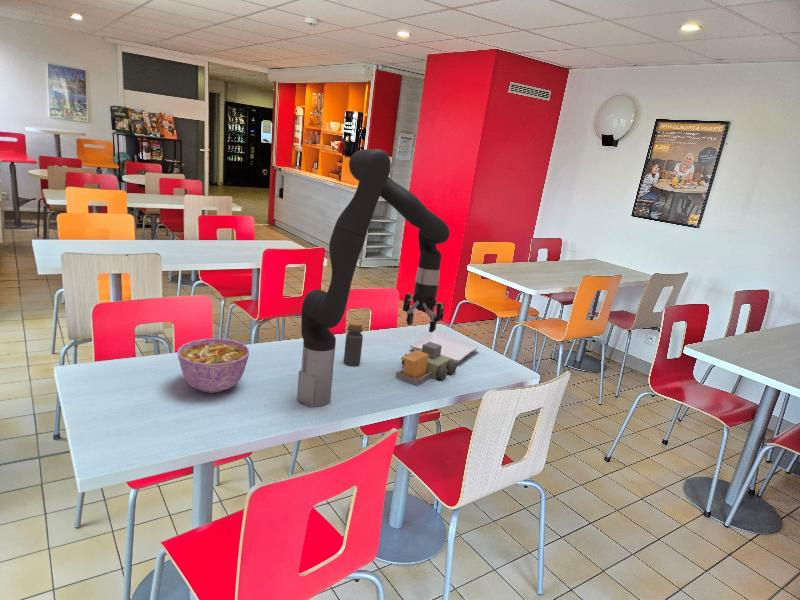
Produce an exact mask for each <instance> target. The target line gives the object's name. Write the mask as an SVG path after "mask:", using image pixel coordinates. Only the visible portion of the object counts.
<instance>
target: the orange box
mask: <svg viewBox="0 0 800 600" xmlns="http://www.w3.org/2000/svg"><path fill="white" fill-rule="evenodd" d="M406 354H407V355H405V354H404V355H405V356H404V355H403V356H401V357H400V359H401V361H402V360H405V362H404V366H403V369H404V370H403V374H405V375H408V376H410V377H413V378H416V379H418V378H420V377H421V376H423V375H425V374H426V369H427V362H428V355H429V354H426V353H423V352H420V351H418V350H413V351H411V352H409V353H406Z"/></svg>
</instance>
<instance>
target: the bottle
mask: <svg viewBox="0 0 800 600" xmlns="http://www.w3.org/2000/svg"><path fill="white" fill-rule="evenodd" d="M347 331H348V332H347V333H345V334H346V335H345V343H344V344H345V345H344V351H343V354H344V355H343V364H344V365H346V366H350V367H357V366H360V364H361V360H362V359H361V356H362V349H363V341H364V340H363V338H364V336H363V334H362V332H363V322H361V321H358V320H351V321H350V320H349V322H348V327H347Z"/></svg>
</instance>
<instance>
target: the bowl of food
mask: <svg viewBox="0 0 800 600" xmlns="http://www.w3.org/2000/svg"><path fill="white" fill-rule="evenodd" d="M250 353H251V351H250V348H249V347H248V346H247V345H246V344H244V343H242V342H239V341H237V340H233V339H226V338H203V339H197V340H192V341H189V342H186V343H185V344H182V345H181V346H179V348H178V349H177V358H178V361H179V365H180V369H181V372H182V376H183V378H184V380H185V381H186V382H187V384H188V385H189V386H190V387H192V388H194V389H196V390H198V391H201V390H202V391H201V392H204V391H205V392H204V393H208V392H211V393H213V392H216V393H220V392H221V393H222V392H224V391H225V390H228V389H231V388H233V387H234V386H236V385H237V384H238V383H239V382H240V380H241V379H242V377H243V375H244V372H245V369H246V366H247V362H248V360H249V356H250ZM223 390H224V391H223ZM211 393H210V394H211Z"/></svg>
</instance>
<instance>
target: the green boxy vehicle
mask: <svg viewBox="0 0 800 600" xmlns="http://www.w3.org/2000/svg"><path fill="white" fill-rule="evenodd" d="M441 347H442V346H441V345H438V344H435V343H432V342H428V343H426V344H423V345H422V349H421V350H418V349H416V350H418V351H420V352H423V353H426V354H429V355H428V362H427V369H426V374H425V375H423V376H421V377H420V378H418V379H416V378H413V377H410V376H408V375H405V374H403V370H404V368H402V369H400V370H398V371H396V372H395V379H398V380H400V379H401V380H400V381H403V382H405V381H406V383H408V384H411V385H412V386H416V387H418V386H419V384H420V385H421V384H423V383H425V382H426V380H427V381H428V380H430V379H435V380H437V379H438V380H440V381H444V380H445V379H446V377H447V375H448V374H449V375H454V374H455V373H456V371H457V368H458V362H457V363H455V362H452V358H449V357H446V356H443V355H441ZM407 354H408V353H406V354H404V355H403V356H405V355H407ZM404 362H405V360H402V359H401V365H402V366H403V367H404Z"/></svg>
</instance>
